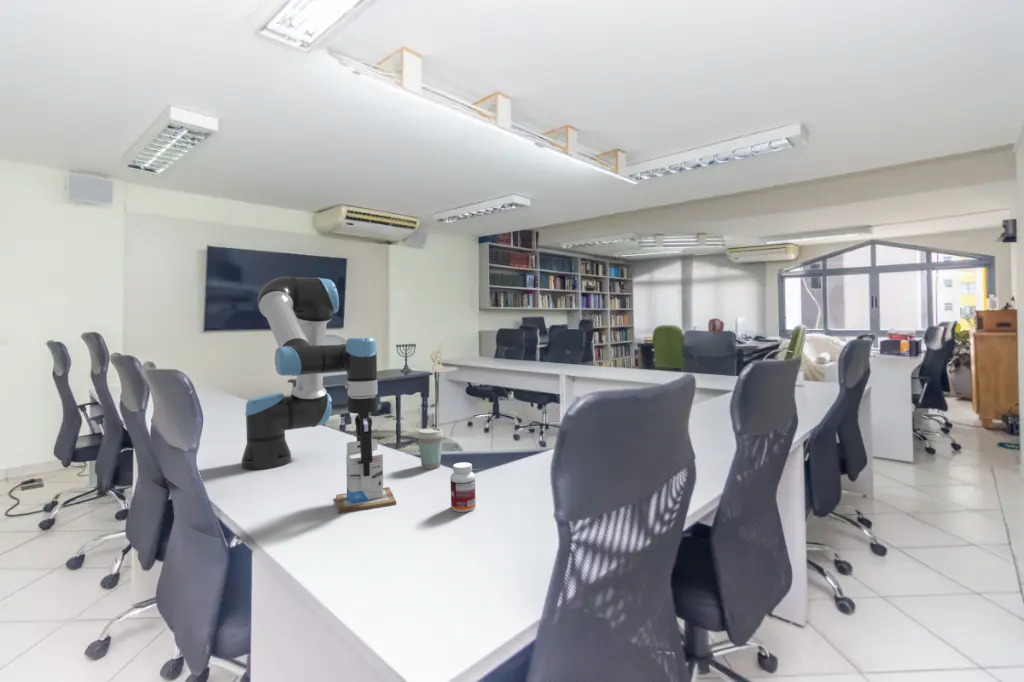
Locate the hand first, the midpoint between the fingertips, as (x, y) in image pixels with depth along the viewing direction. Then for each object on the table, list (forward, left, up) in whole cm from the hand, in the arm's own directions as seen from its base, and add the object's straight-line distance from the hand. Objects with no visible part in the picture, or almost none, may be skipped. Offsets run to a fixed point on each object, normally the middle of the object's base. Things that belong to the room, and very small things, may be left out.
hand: (365, 483), depth 126 cm
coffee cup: (-23, +23, -5) cm, 33 cm away
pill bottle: (+16, +22, -5) cm, 28 cm away
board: (0, 0, -5) cm, 5 cm away
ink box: (0, 0, -4) cm, 4 cm away
